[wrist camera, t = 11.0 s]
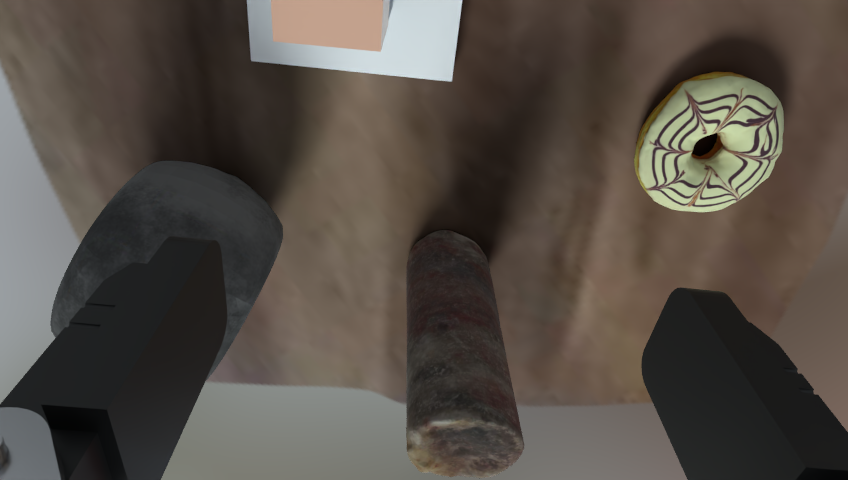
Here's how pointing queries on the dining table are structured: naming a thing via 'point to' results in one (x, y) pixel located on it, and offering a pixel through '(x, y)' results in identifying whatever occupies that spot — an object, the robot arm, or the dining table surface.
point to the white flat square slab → (400, 55)
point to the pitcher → (182, 217)
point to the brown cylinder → (457, 363)
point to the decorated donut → (732, 153)
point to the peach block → (331, 23)
